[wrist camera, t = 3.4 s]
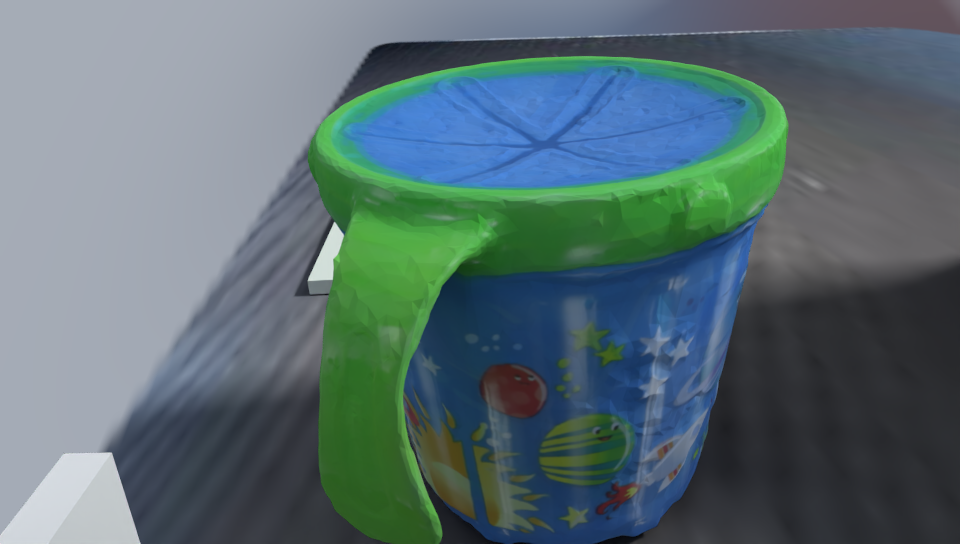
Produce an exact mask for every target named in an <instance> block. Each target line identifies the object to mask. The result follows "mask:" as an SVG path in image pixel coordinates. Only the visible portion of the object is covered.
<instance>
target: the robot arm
mask: <svg viewBox="0 0 960 544" xmlns="http://www.w3.org/2000/svg"><path fill="white" fill-rule="evenodd" d="M0 544H140V541H139V537H138V534H137V531H136V528H135V525H134V522H133V518H132V515H131V512H130V509H129V506H128V503H127V499H126V496H125V493H124V490H123V487H122V484H121V480H120V477H119V474H118V471H117V468H116V464H115V461H114V458H113V455H112V453H70V454H69V453H64V454H63V455H62V456H61V458H60V459H59V461H58V462H57V463H56V464H55V466H54V467H53V468H52V469H51V471H50V472H49V473H48V474H47V476H46V477H45V478H44V480H43V481H42V482H41V484H40V485H39V486H38V487H37V489H36V490H35V491H34V492H33V494H32V495H31V496H30V498H29V499H28V500H27V501H26V503H25V504H24V505H23V507H22V508H21V509H20V510H19V512H18V513H17V514H16V516H15V517H14V518H13V520H12V521H11V522H10V523H9V525H8V526H7V527H6V529H5V530H4V531H3V532H2V534H1V535H0Z"/></svg>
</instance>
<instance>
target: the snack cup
mask: <svg viewBox="0 0 960 544" xmlns="http://www.w3.org/2000/svg"><path fill="white" fill-rule="evenodd" d="M787 134H788V121H787V119H786V115H785V111H784V109H783V107H782V105H781V104H780V103H779V101H778V100H777V99H776V98H775V97H774V96H772V95H771V94H770V93H768V92H767V91H766V90H765V89H763V88H761V87H760V86H758V85H756V84H754V83H753V82H750V81H748V80H745V79H742V78H739V77H737V76H735V75H732V74H728V73H725V72H723V71H719V70H715V69H710V68H706V67H702V66H696V65H689V64H683V63H676V62H670V61H660V60H651V59H637V58H624V57H594V56H583V57H550V58H531V59H520V60H510V61H501V62H492V63H484V64H478V65H473V66H464V67H459V68H453V69H447V70H443V71H438V72H433V73H429V74H425V75H422V76H417V77H413V78H410V79H406V80H403V81H400V82H396V83H393V84H390V85H386V86H383V87H381V88H378V89H375V90H373V91H370V92H368V93H366V94H364V95H361V96H359V97H357V98H355V99H353V100H352V101H350V102H348V103H346V104H344V105H342V106H341V107H340V108H338V109H337V110H336V111H335V112H333V113H332V114H330V115H329V116H328V117H327V118H326V119H325V120H324V121H323V122H322V123H321V124H320V126H319V128H318V129H317V131H316V133H315V135H314V137H313V138H312V141H311V144H310V147H309V151H308V163H309V167H310V170H311V173H312V175H313V177H314V179H315V181H316V182H317V184H318V187H319V191H320V195H321V198H322V201H323V203H324V206H325V208H326V209H327V211H328V213H329V214H330V215H331V217H332V218H333V220H334V221H335V223H336V224H337V226H338V228H339V229H340V230H341V232H342V233H343V235H344V237H343V240H342V244H341V247H340V250H339V253H338V255H337V256H336V257H335V258H334V259H333V265H334V270H333V281H332V286H331V289H330V292H329V298H328V302H327V306H326V313H325V320H324V330H323V351H322V359H321V367H320V383H319V387H320V405H319V421H318V429H319V445H318V456H319V472H320V474H321V484H322V486H323V489H324V491H325V493H326V495H327V496H328V497H329V498H330V499H331V503H332V505H333V507H334V509H335V511H336V512H337V513H339V514H340V515H341V516H342V517H343V518H344V519H346V520H347V521H348V522H349V523H350V524H351V525H352V526H354V527H355V528H356V529H357V530H359V531H360V532H362V533H363V534H365V535H366V536H368V537H369V538H373V539H377V540H380V541H382V542H386V543H392V544H439V543H440V542H441V539H442V535H443V534H442V528H441V524H440V521H439V518H438V515H437V513H436V511H435V509H434V506H433V504H432V502H431V500H430V498H429V496H428V493H427V490H426V488H425V485H424V482H423V479H422V476H421V473H420V470H419V467H418V464H417V461H416V457H415V454H414V452H413V450H412V448H411V446H410V442H409V439H408V434H407V429H408V433H409V436H410V439H411V443H412V445H413V447H414V448H415V450H416V454H417V457H418V462H419V466H420V469H421V471H422V473H423V474H424V476H425V479H426V480H427V482H428V483H429V484H430V486H431V487H432V489H433V490H434V492H435V493H436V494H437V495H438V496H439V497H440V498H441V499H442V500H443V502H444V503H445V505H446V506H447V507H448V508H449V509H450V510H451V511H453V512H454V513H455V514H457V515H458V516H460V517H461V518H462V519H463V520H464V521H466V522H468V523H470V524H471V525H472V526H473V527H474V528H475V529H476V530H478V531H479V532H480V533H481V534H482V535H483V536H484V537H485V538H486V539H488V540H491V541H494V542H499V543H504V544H513V543H516V542H526V543H530V544H594V543H599V542H601V541H604V540H606V539H609V538H614V537H618V536H621V535H624V536H632V537H635V536H637V535H639V534H641V533H643V532H645V531H647V530H650V529H652V528H654V527H656V526H657V525H658V523H659V521H660V518H661V517H662V516H663V515H664V514H665V513H666V512H667V510H668V509H669V508H670V507H671V505H672V504H673V503H674V502H676V501H678V500H680V498H681V497H682V495H683V494H684V492H685V490H686V488H687V486H688V484H689V482H690V480H691V478H692V476H693V474H694V472H695V470H696V467H697V463H698V460H699V458H700V455H701V451H702V449H703V443H704V440H705V438H706V436H707V432H708V421H709V417H710V411H711V408H712V406H713V405H714V403H715V399H716V396H717V391H718V385H719V378H720V376H721V373H722V370H723V366H724V362H725V357H726V353H727V349H728V345H729V340H730V336H731V332H732V328H733V324H734V320H735V316H736V312H737V308H738V303H739V299H740V295H741V291H742V287H743V283H744V279H745V275H746V270H747V267H748V255H749V252H750V247H751V244H752V239H753V233H754V229H755V227H756V224H757V222H758V220H759V219H760V218H761V217H762V215H763V214H764V210H765V208H766V207H767V206H768V203H769V202H770V200H771V199H772V197H773V196H774V194H775V193H776V190H777V188H778V186H779V183H780V181H781V178H782V175H783V170H784V163H785V153H786V139H787ZM405 421H406V424H407V429H406V424H405Z"/></svg>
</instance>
